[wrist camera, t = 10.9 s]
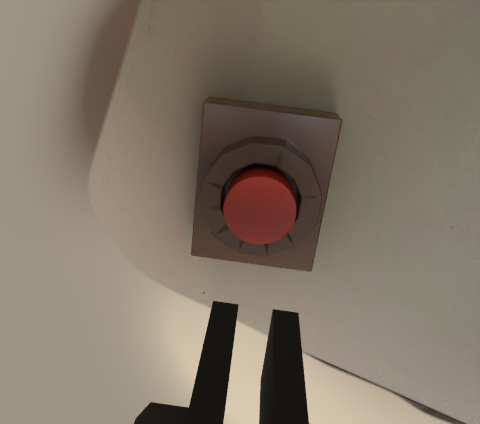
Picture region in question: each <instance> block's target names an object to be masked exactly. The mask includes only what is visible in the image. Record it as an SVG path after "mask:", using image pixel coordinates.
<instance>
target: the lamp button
mask: <svg viewBox="0 0 480 424" xmlns="http://www.w3.org/2000/svg"><path fill="white" fill-rule="evenodd" d="M296 212H297V210H296V201H295V195H294V191H293V188H292V186H291V184H290V183H289V181H288V180H287V179H286V178H285V177H284V176H283V175H282V174H280V173H279V172H277V171H274V170H272V169H268V168H253V169H249V170H246V171H244V172H242V173H241V174H239V175H238V176H237V177H236V178H235V179H234V180H233V181H232V183H231V184H230V186H229V188H228V191H227V195H226V198H225V201H224V206H223V213H224V218H225V221H226V224H227V226H228V227H229V229H230V230H231V231H232V232H233V233H234V235H236V236H237V237H238V238H240V239H242V240H244V241H246V242H249V243H253V244H268V243H272V242H275V241H277V240H279V239H281V238H282V237H283V236H285V235H286V234H287V233H288V232H289V231H290V229H291V228H292V226H293V224H294V222H295V218H296Z"/></svg>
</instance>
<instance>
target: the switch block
mask: <svg viewBox="0 0 480 424" xmlns="http://www.w3.org/2000/svg"><path fill="white" fill-rule="evenodd" d="M341 124H342V119H341V118H340V117H339V116H338V115H337V114H336V113H329V112H321V111H313V110H305V109H298V108H290V107H282V106H274V105H266V104H259V103H251V102H243V101H235V100H227V99H219V98H212V97H209V98H208V99H207V100H206V101H204V103H203V114H202V127H201V139H200V151H199V163H198V176H197V188H196V200H195V212H194V224H193V237H192V249H191V255H192V256H200V257H207V258H214V259H222V260H229V261H236V262H244V263H251V264H258V265H266V266H273V267H280V268H288V269H295V270H302V271H310V272H311V271H312V266H313V261H314V257H315V252H316V247H317V242H318V237H319V232H320V227H321V222H322V217H323V212H324V207H325V203H326V198H327V193H328V188H329V183H330V178H331V173H332V168H333V163H334V158H335V153H336V149H337V144H338V139H339V134H340V129H341ZM253 168H268V169H272V170H274V171H277V172H279V173H280V174H282V175H283V176H284V177H285V178H286V179H287V180H288V181H289V183H290V184H291V186H292V188H293V191H294V195H295V201H296V210H297V212H296V218H295V222H294V224H293V226H292V228H291V229H290V231H289V232H288V233H287V234H286V235H285V236H283V237H282V238H281V239H279V240H277V241H275V242H272V243H268V244H253V243H249V242H246V241H244V240H242V239H240V238H238V237H237V236H236V235H234V233H233V232H232V231H231V230H230V229H229V227H228V226H227V224H226V221H225V218H224V213H223V206H224V201H225V198H226V195H227V191H228V188H229V186H230V184H231V183H232V181H233V180H234V179H235V178H236V177H237V176H238V175H239V174H241V173H242V172H244V171H246V170H249V169H253Z"/></svg>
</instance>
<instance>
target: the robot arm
mask: <svg viewBox="0 0 480 424" xmlns="http://www.w3.org/2000/svg"><path fill="white" fill-rule="evenodd" d="M237 312H238V304H231V303H223V302H216V301H213V305H212V309H211V313H210V318H209V323H208V327H207V331H206V335H205V340H204V344H203V349H202V353H201V358H200V362H199V366H198V371H197V375H196V380H195V384H194V388H193V393H192V397H191V401H190V406H189V408H187V407H180V406H173V405H166V404H159V403H152V402H151V403H150V404H149V405H148V406H147V407H146V408H145V409H144V410H143V411H142V412H141V414H140V415H139V416H138V417H137V418H136V420H135V422H134V424H223V419H224V412H225V404H226V396H227V388H228V381H229V372H230V365H231V358H232V349H233V343H234V334H235V327H236V319H237ZM259 421H260V422H259V424H309V421H308V412H307V400H306V390H305V379H304V369H303V358H302V347H301V337H300V326H299V316H298V313H296V312H288V311H281V310H274V309H273V312H272V318H271V324H270V330H269V336H268V341H267V348H266V353H265V359H264V365H263V370H262V376H261V391H260V420H259Z"/></svg>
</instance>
